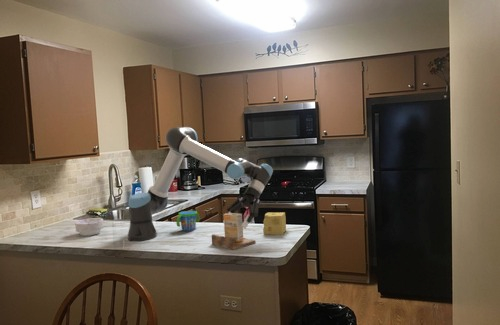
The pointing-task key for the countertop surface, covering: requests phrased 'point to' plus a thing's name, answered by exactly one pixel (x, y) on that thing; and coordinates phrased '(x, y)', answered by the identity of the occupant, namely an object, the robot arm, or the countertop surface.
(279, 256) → the countertop surface
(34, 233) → the countertop surface
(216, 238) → the mounting block
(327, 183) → the countertop surface
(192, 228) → the snack cup
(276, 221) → the cheese
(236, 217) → the supplement box
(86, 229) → the paper bowls
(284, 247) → the countertop surface
